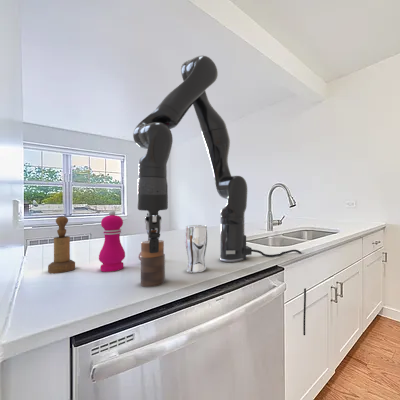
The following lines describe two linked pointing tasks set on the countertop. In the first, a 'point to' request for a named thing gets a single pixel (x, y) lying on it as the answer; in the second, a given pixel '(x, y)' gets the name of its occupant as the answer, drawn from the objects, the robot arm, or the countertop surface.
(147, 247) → the brown wooden short cylinder
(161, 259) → the walnut chip high
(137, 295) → the countertop surface
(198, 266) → the beer glass
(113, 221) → the pepper mill
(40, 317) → the countertop surface
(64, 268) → the wooden knobbed stamp
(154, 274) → the cylinder
